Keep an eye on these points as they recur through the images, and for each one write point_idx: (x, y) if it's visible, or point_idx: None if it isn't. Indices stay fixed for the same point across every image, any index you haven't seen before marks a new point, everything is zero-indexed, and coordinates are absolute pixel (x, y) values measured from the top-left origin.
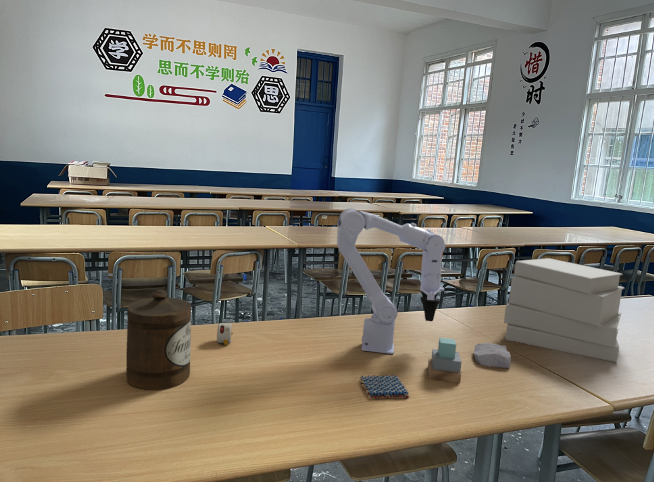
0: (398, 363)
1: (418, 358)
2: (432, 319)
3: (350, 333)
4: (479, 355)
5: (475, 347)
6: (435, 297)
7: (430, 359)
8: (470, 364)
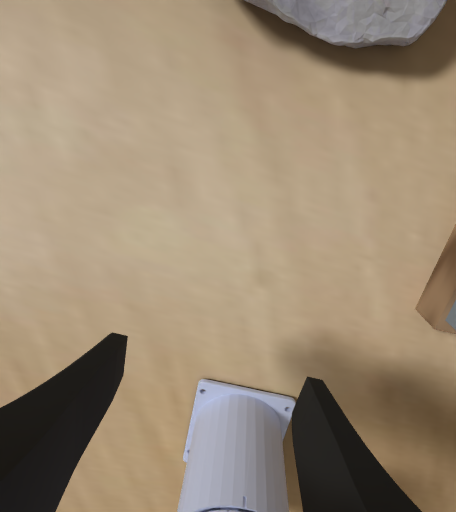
0: (373, 396)
1: (328, 321)
2: (327, 393)
3: (114, 476)
4: (423, 31)
5: (280, 6)
6: (34, 450)
7: (446, 324)
8: (406, 100)
